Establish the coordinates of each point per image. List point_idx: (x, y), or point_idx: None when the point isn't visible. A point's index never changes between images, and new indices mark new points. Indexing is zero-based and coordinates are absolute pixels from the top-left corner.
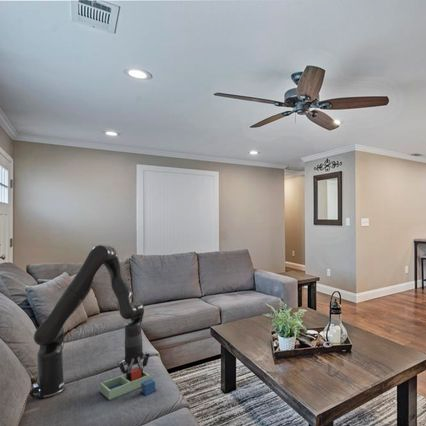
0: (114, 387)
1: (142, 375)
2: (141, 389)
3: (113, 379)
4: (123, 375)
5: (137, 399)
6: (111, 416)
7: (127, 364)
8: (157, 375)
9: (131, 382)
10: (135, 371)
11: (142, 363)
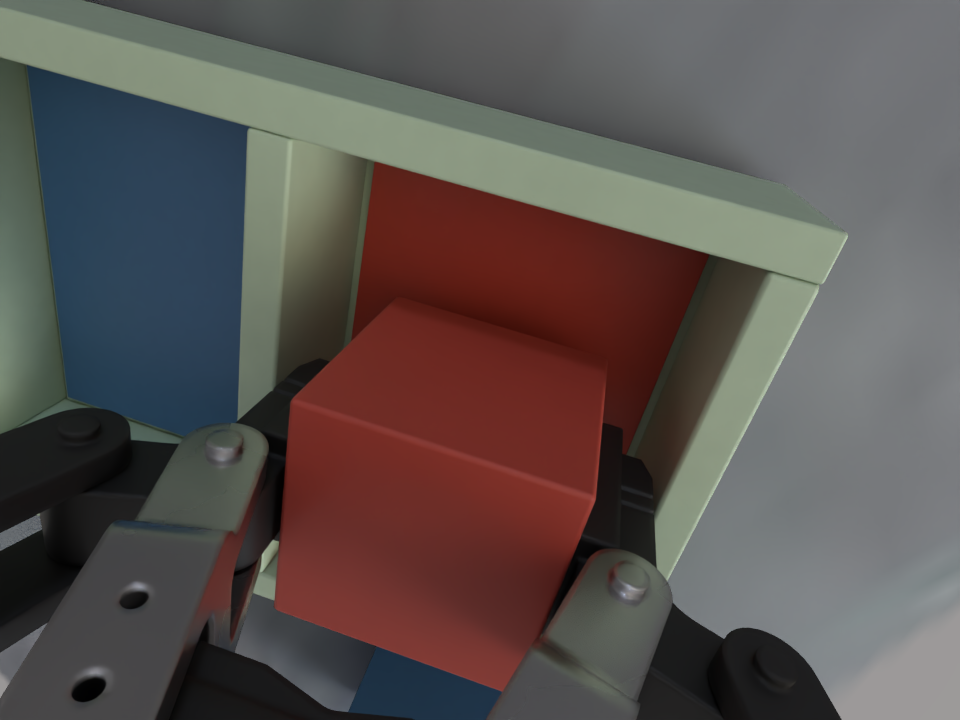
0: (186, 174)
1: (659, 444)
2: (369, 663)
3: (92, 76)
4: (330, 146)
5: (279, 673)
6: (22, 641)
7: (73, 628)
8: (914, 512)
9: (266, 597)
10: (369, 641)
11: (725, 686)
